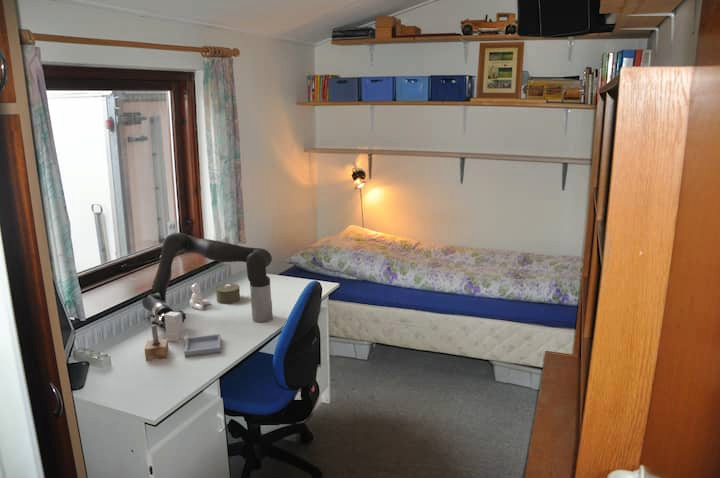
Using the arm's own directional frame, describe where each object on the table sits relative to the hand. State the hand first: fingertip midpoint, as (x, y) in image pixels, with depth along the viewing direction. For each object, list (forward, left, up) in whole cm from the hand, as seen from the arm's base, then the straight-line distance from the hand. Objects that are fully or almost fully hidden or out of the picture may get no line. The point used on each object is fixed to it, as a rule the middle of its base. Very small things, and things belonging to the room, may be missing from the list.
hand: (172, 323), depth 244 cm
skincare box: (-1, +3, -7) cm, 7 cm away
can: (-24, -41, -7) cm, 48 cm away
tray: (-13, +15, -6) cm, 20 cm away
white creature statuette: (-9, -35, -7) cm, 37 cm away
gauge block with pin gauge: (+5, +17, -6) cm, 19 cm away
